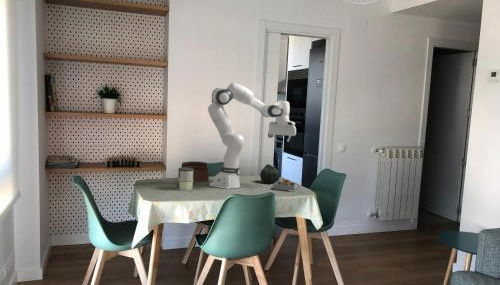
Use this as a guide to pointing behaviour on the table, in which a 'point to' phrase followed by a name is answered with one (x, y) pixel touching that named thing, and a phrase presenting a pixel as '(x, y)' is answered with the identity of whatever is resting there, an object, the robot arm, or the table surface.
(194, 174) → the letter holder
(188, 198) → the table surface
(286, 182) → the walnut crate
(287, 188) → the charcoal crate
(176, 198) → the table surface
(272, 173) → the squash
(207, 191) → the table surface
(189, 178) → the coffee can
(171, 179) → the table surface
